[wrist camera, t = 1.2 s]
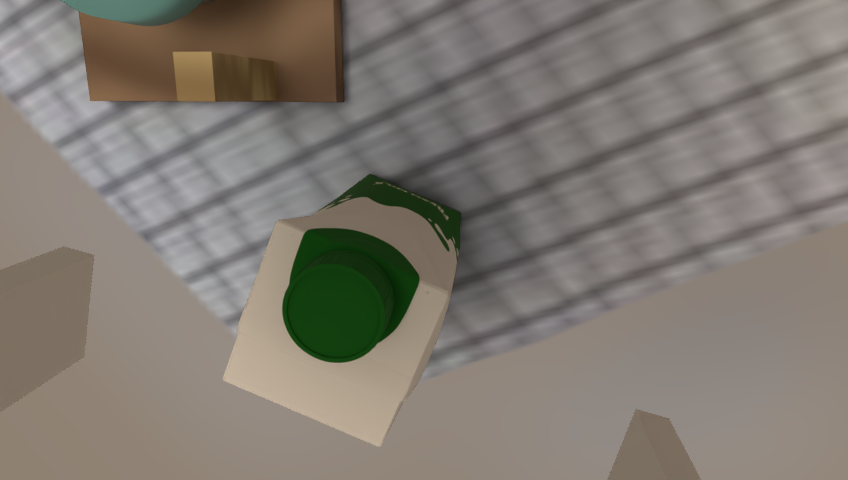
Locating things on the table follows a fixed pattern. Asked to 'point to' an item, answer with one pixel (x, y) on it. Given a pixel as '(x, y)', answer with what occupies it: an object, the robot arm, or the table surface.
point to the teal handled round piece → (136, 10)
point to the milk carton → (349, 307)
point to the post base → (221, 33)
